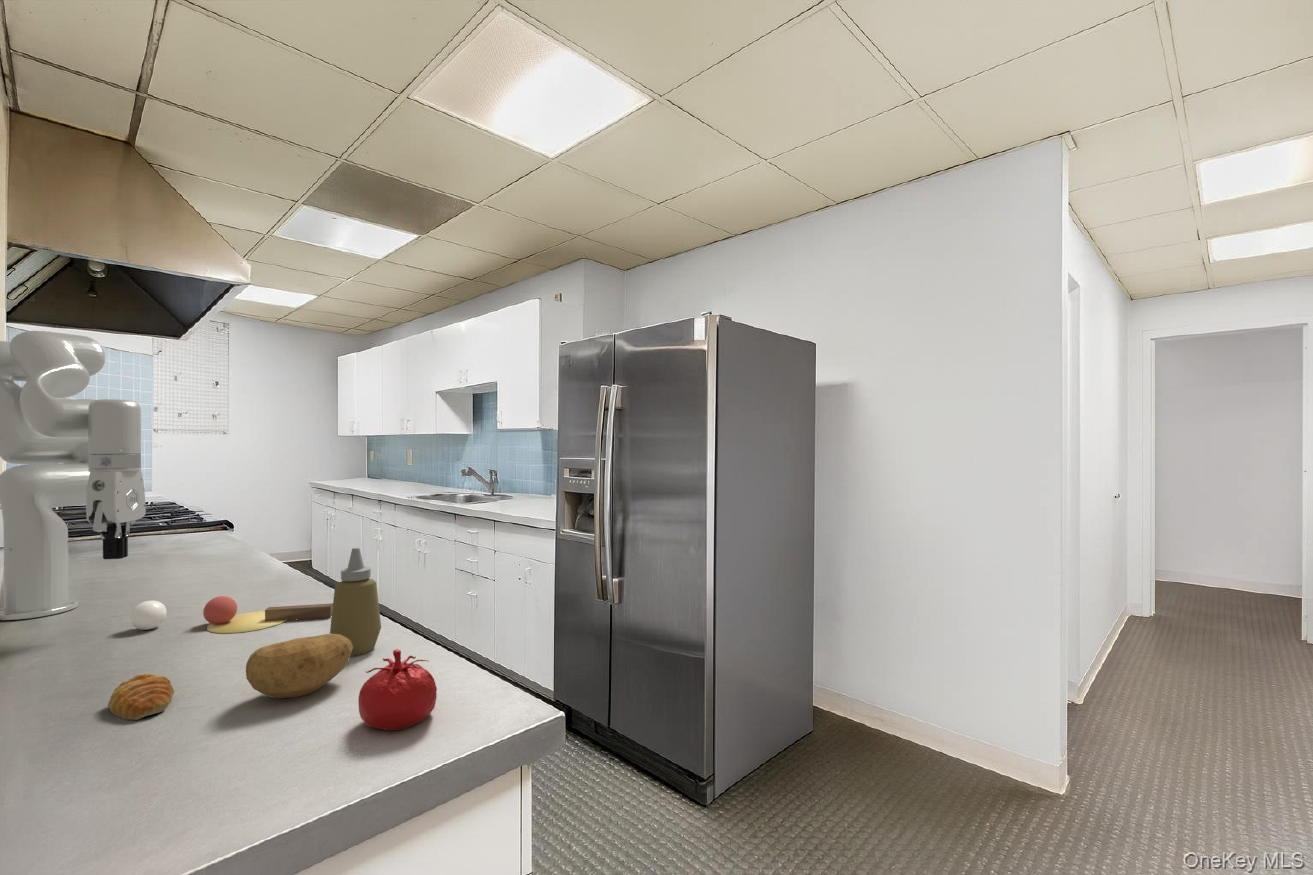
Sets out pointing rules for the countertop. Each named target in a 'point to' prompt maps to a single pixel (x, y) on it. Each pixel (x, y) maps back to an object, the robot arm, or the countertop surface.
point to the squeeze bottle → (356, 606)
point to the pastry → (141, 696)
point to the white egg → (148, 615)
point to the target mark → (244, 623)
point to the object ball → (220, 610)
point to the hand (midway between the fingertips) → (115, 557)
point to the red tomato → (397, 695)
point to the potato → (297, 665)
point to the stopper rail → (299, 612)
